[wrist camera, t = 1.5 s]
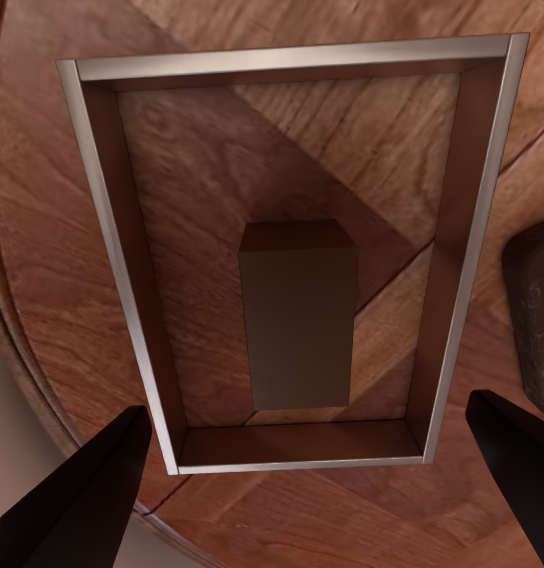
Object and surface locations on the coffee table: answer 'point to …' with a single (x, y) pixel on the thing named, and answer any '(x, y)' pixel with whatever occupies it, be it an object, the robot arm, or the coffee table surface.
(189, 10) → the coffee table surface
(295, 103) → the coffee table surface
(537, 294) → the ice cream bar
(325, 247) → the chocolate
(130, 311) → the rectangular frame
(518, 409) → the robot arm
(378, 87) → the coffee table surface
